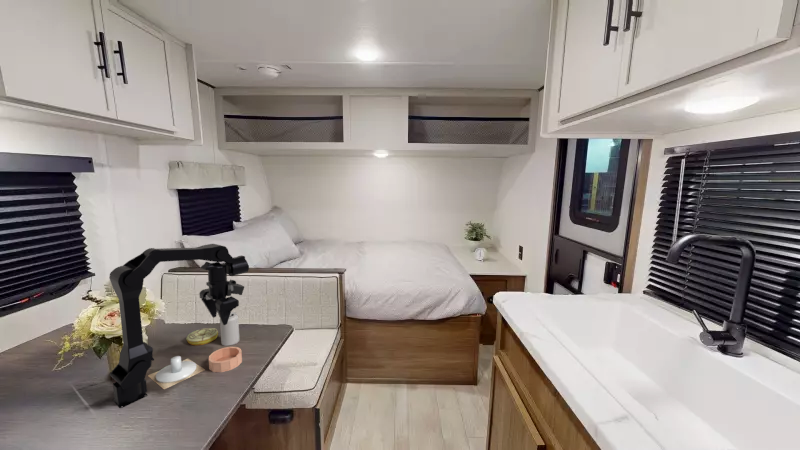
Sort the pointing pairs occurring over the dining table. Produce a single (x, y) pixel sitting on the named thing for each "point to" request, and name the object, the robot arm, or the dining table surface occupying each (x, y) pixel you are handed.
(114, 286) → the robot arm
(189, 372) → the lid
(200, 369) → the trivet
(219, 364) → the bowl
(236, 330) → the beverage can
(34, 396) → the dining table surface
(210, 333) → the decorated donut
